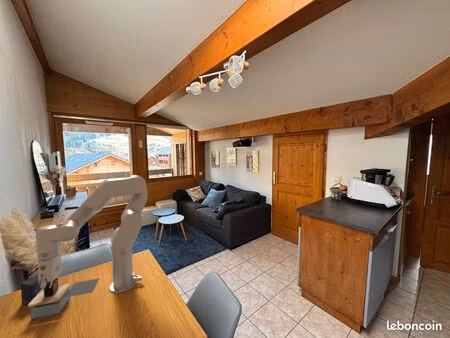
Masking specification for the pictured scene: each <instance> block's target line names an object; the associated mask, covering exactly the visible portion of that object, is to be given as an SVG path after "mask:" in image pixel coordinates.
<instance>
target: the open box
mask: <svg viewBox="0 0 450 338" xmlns="http://www.w3.org/2000/svg"><path fill="white" fill-rule="evenodd" d="M69 300H71V297H70V288H69V289H68V291H67V292H66V293H65V295H64V296H63V298H62V299H61V300H60V301H57V302H52V303H47V304H43V305H38V306H33V307H30V320H31V321H32V320H36V319H40V318H41V319H42V318H45V317H51V316H55V315H60V314H61V312H62V311H63V310H64V308H65V306H66V305H67V304H68V302H69Z"/></svg>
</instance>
